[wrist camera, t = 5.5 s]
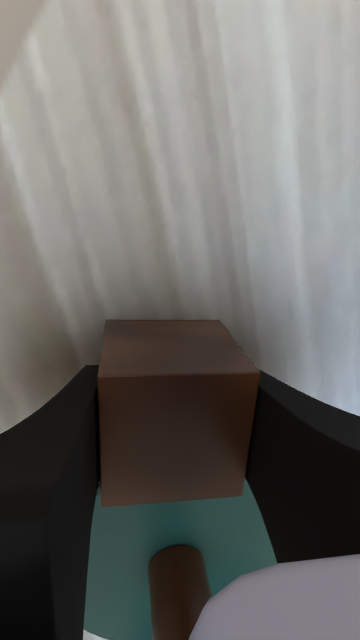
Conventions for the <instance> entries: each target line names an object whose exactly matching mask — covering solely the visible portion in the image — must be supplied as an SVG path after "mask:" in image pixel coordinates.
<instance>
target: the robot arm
mask: <svg viewBox="0 0 360 640" xmlns="http://www.w3.org/2000/svg"><path fill="white" fill-rule="evenodd" d="M98 369H99V365H86V366H85V367H84V368H83V369H82V370H81V371H80V372H79V373H78V374H77V375H76V376H75V377H74V378H73V379H72V380H71V381H70V382H69V383H68V384H67V385H66V386H65V387H64V388H63V389H62V390H61V391H60V392H59V393H58V394H57V395H55V396H54V397H53V398H52V399H51V400H49V401H48V402H47V403H46V404H45V405H44V406H42V407H41V408H40V409H39V410H37V411H36V412H34V413H33V414H32V415H30V416H29V417H27V418H26V419H24V420H23V421H21V422H20V423H18V424H17V425H15V426H14V427H12V428H10V429H9V430H7V431H5V432H3V433H1V434H0V640H83V628H84V614H85V600H86V587H87V574H88V561H89V549H90V537H91V526H92V519H93V511H94V506H95V500H96V495H97V489H98V484H99V478H100V469H99V427H98V385H97V375H98ZM258 370H259V369H258ZM259 371H260V379H259V386H258V393H257V400H256V407H255V413H254V420H253V427H252V434H251V441H250V447H249V454H248V461H247V468H246V475H245V478H246V480H247V482H248V485H249V487H250V489H251V491H252V493H253V495H254V498H255V500H256V502H257V505H258V507H259V510H260V512H261V515H262V518H263V521H264V524H265V527H266V530H267V533H268V536H269V539H270V542H271V545H272V548H273V551H274V554H275V557H276V561H277V564H276V565H273V566H269V567H266V568H263V569H260V570H256V571H253V572H250V573H247V574H243V575H240V576H239V577H237V578H236V579H235V580H233V581H232V582H231V583H230V584H228V585H227V586H226V587H224V588H223V589H222V590H220V591H219V592H218V593H217V594H215V595H214V596H213V597H211V598H210V599H209V600H208V601H207V603H206V604H205V606H204V608H203V610H202V612H201V614H200V616H199V618H198V620H197V622H196V624H195V626H194V629H193V631H192V633H191V635H190V637H189V640H360V417H359V416H357V415H354V414H351V413H348V412H346V411H343V410H341V409H338V408H336V407H333V406H330V405H328V404H326V403H323V402H321V401H319V400H317V399H315V398H312V397H310V396H308V395H306V394H304V393H302V392H300V391H298V390H296V389H294V388H292V387H290V386H288V385H287V384H285V383H283V382H281V381H279V380H277V379H276V378H274V377H272V376H270V375H268V374H267V373H265V372H263V371H261V370H259Z"/></svg>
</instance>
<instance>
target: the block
mask: <svg viewBox="0 0 360 640" xmlns="http://www.w3.org/2000/svg"><path fill="white" fill-rule="evenodd" d="M259 379H260V371H259V370H258V369H257V367H256V366H255V365H254V363H253V362H252V361H251V360H250V358H249V357H248V356H247V355H246V353H245V352H244V351H243V350H242V348H241V347H240V346H239V345H238V343H237V342H236V341H235V339H234V338H233V337H232V336H231V334H230V333H229V332H228V331H227V329H226V328H225V327H224V326H223V324H222V323H221V322H220V321H219V320H106V324H105V331H104V337H103V343H102V350H101V356H100V363H99V369H98V375H97V385H98V427H99V469H100V506H101V507H102V508H104V507H116V506H128V505H140V504H153V503H165V502H177V501H189V500H201V499H214V498H226V497H238V496H242V495H243V488H244V481H245V475H246V468H247V461H248V454H249V447H250V441H251V434H252V427H253V420H254V413H255V407H256V400H257V393H258V386H259Z"/></svg>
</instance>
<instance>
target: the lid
mask: <svg viewBox="0 0 360 640" xmlns="http://www.w3.org/2000/svg"><path fill="white" fill-rule="evenodd" d="M276 564H277V561H276V557H275V554H274V551H273V548H272V545H271V542H270V539H269V536H268V533H267V530H266V527H265V524H264V521H263V518H262V515H261V512H260V510H259V507H258V505H257V502H256V500H255V498H254V495H253V493H252V491H251V489H250V487H249V485H248V482H247V480H246V478H245V481H244V488H243V495H242V496H238V497H226V498H214V499H201V500H189V501H177V502H165V503H153V504H140V505H128V506H116V507H104V508H102V507H101V506H100V487H98V489H97V495H96V500H95V506H94V511H93V519H92V526H91V537H90V549H89V561H88V574H87V587H86V600H85V614H84V628H83V629H84V630H86V631H88V632H90V633H92V634H94V635H97V636H99V637H102V638H105V639H109V640H189V637H190V635H191V633H192V631H193V629H194V626H195V624H196V622H197V620H198V618H199V616H200V614H201V612H202V610H203V608H204V606H205V604H206V603H207V601H208V600H209V599H210V598H211V597H213V596H214V595H215V594H217V593H218V592H219V591H220V590H222V589H223V588H224V587H226V586H227V585H228V584H230V583H231V582H232V581H233V580H235V579H236V578H237V577H239V576H240V575H243V574H247V573H250V572H253V571H256V570H260V569H263V568H266V567H269V566H273V565H276Z"/></svg>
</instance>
